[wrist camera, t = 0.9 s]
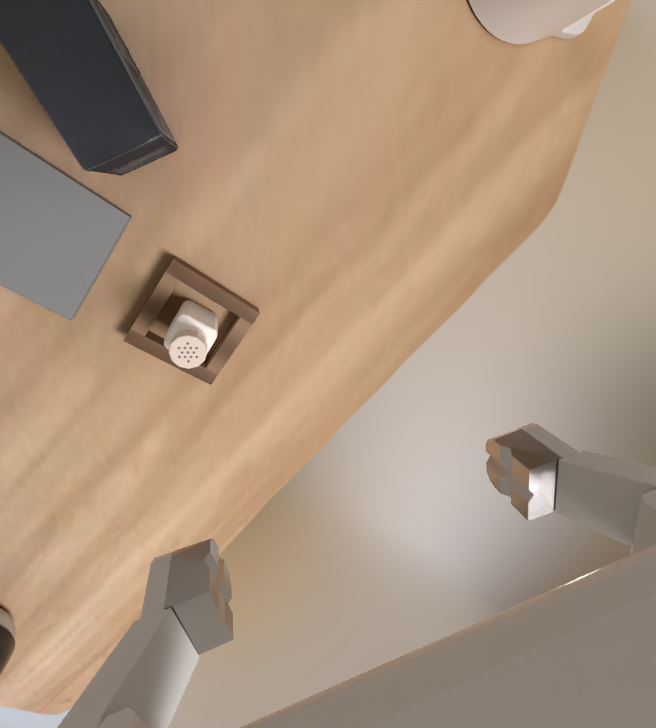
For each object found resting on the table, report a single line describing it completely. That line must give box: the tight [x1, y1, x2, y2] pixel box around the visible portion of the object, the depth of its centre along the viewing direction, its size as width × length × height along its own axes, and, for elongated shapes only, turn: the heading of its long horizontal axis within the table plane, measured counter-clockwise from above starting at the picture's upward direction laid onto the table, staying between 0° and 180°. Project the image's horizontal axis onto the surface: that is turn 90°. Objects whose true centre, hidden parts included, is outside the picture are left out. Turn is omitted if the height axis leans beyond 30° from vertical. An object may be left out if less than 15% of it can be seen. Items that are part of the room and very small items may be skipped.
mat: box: [0, 132, 132, 320], centre depth 35 cm, size 12×12×1 cm
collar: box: [123, 256, 260, 385], centre depth 41 cm, size 10×10×2 cm
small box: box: [0, 0, 178, 175], centre depth 29 cm, size 11×6×10 cm, turn 24°
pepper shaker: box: [164, 300, 218, 369], centre depth 38 cm, size 4×4×10 cm
